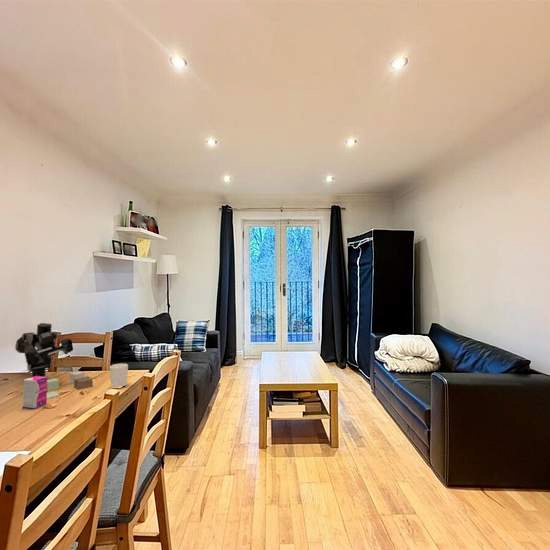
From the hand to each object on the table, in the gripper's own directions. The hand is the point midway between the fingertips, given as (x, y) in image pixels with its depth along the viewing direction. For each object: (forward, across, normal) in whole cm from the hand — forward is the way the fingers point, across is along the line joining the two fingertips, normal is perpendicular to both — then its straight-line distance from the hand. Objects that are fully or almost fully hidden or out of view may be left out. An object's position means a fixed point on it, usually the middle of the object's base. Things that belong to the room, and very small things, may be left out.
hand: (55, 357), depth 150 cm
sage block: (-2, -4, +16) cm, 17 cm away
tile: (+7, -7, +14) cm, 17 cm away
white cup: (+17, +19, +18) cm, 31 cm away
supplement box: (+16, -14, +11) cm, 23 cm away
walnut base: (+5, +7, +18) cm, 20 cm away
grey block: (-6, +8, +20) cm, 22 cm away
